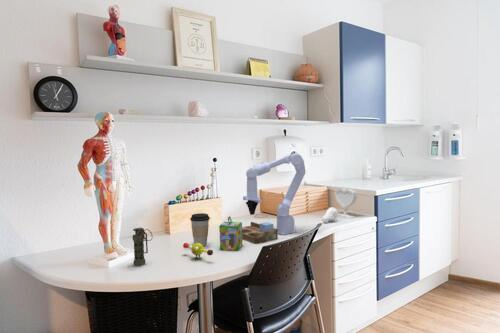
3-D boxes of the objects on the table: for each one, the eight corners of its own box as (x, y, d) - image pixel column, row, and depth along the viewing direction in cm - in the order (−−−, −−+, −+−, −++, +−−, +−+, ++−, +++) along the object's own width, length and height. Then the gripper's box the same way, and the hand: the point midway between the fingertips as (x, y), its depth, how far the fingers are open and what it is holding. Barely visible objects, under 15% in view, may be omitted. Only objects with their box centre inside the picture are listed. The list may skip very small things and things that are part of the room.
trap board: (252, 230, 193) (252, 221, 192) (277, 239, 175) (277, 229, 175) (231, 234, 185) (231, 225, 184) (255, 244, 167) (255, 234, 166)
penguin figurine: (338, 207, 211) (326, 212, 204) (339, 220, 212) (327, 225, 205) (330, 206, 216) (318, 210, 209) (331, 219, 217) (319, 224, 210)
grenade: (135, 268, 136) (133, 231, 135) (129, 264, 141) (127, 229, 140) (155, 263, 142) (154, 227, 141) (149, 259, 147) (148, 225, 146)
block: (267, 231, 179) (267, 222, 179) (273, 233, 175) (273, 223, 174) (259, 233, 176) (259, 223, 176) (265, 235, 172) (265, 225, 172)
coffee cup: (187, 247, 163) (186, 216, 162) (196, 242, 172) (196, 212, 171) (204, 249, 160) (204, 217, 159) (213, 243, 169) (213, 213, 168)
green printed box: (238, 251, 157) (238, 219, 156) (219, 250, 159) (218, 218, 158) (243, 245, 166) (242, 215, 165) (224, 244, 168) (224, 214, 167)
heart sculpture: (333, 214, 233) (334, 188, 232) (339, 213, 236) (339, 187, 234) (352, 218, 220) (352, 190, 219) (357, 217, 223) (357, 189, 222)
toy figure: (179, 256, 151) (178, 241, 150) (188, 252, 155) (188, 238, 155) (206, 265, 139) (206, 248, 139) (216, 261, 144) (216, 245, 143)
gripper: (238, 189, 191) (238, 213, 192) (254, 192, 180) (254, 217, 181) (248, 188, 195) (248, 211, 196) (264, 190, 184) (264, 215, 185)
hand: (252, 214), depth 189 cm, fingers closed
